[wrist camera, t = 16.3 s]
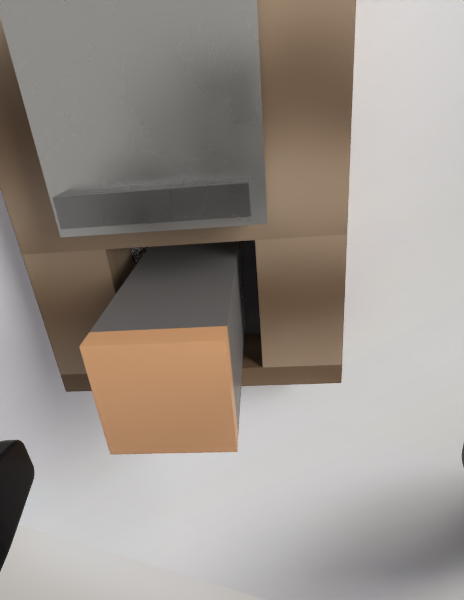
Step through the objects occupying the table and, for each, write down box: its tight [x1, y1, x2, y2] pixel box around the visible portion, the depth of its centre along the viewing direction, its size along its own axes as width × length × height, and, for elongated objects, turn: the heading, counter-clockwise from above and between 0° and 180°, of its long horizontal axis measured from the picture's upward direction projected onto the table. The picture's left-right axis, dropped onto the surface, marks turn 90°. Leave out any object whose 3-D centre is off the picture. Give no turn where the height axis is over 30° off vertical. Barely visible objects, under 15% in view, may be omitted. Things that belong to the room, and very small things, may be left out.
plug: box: [79, 241, 245, 454], centre depth 17 cm, size 4×4×9 cm
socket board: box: [0, 0, 356, 392], centre depth 17 cm, size 16×13×3 cm
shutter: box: [0, 0, 268, 237], centre depth 13 cm, size 7×7×3 cm
